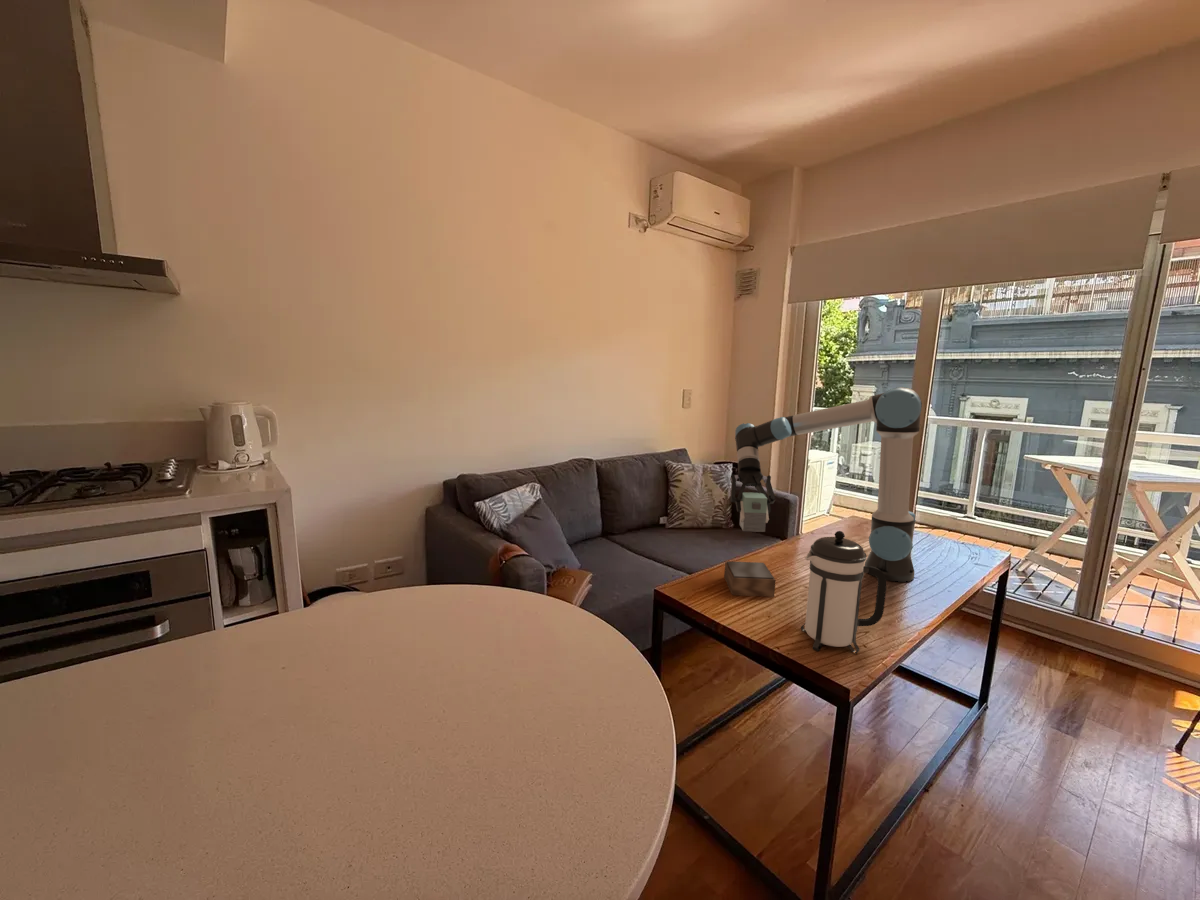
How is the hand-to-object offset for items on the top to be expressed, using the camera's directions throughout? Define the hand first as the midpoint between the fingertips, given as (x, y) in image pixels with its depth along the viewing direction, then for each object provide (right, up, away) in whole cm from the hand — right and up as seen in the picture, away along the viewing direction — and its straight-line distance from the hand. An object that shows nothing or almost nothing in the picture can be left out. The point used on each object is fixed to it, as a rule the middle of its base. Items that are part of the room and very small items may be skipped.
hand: (754, 520), depth 165 cm
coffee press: (+10, -27, -33) cm, 44 cm away
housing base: (0, -3, +4) cm, 5 cm away
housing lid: (0, +3, +3) cm, 4 cm away
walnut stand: (-3, -21, -2) cm, 21 cm away
